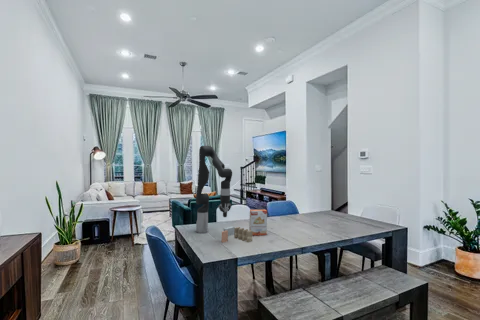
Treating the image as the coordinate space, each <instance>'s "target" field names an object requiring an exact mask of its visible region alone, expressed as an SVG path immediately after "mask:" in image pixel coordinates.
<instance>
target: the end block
mask: <svg viewBox="0 0 480 320" xmlns="http://www.w3.org/2000/svg"><path fill="white" fill-rule="evenodd" d="M234 228H236V226H229V227H224V228H223V229H222V231H226V230H227V231H228V237H229V236H234Z"/></svg>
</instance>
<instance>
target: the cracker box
mask: <svg viewBox="0 0 480 320" xmlns="http://www.w3.org/2000/svg"><path fill="white" fill-rule="evenodd" d="M248 222H249V229H248V231H250V230H252V237H253V236H255V237H256V236H267V233H268V232H267V229H268V226H267V225H268V210H267V209H249V221H248Z"/></svg>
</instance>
